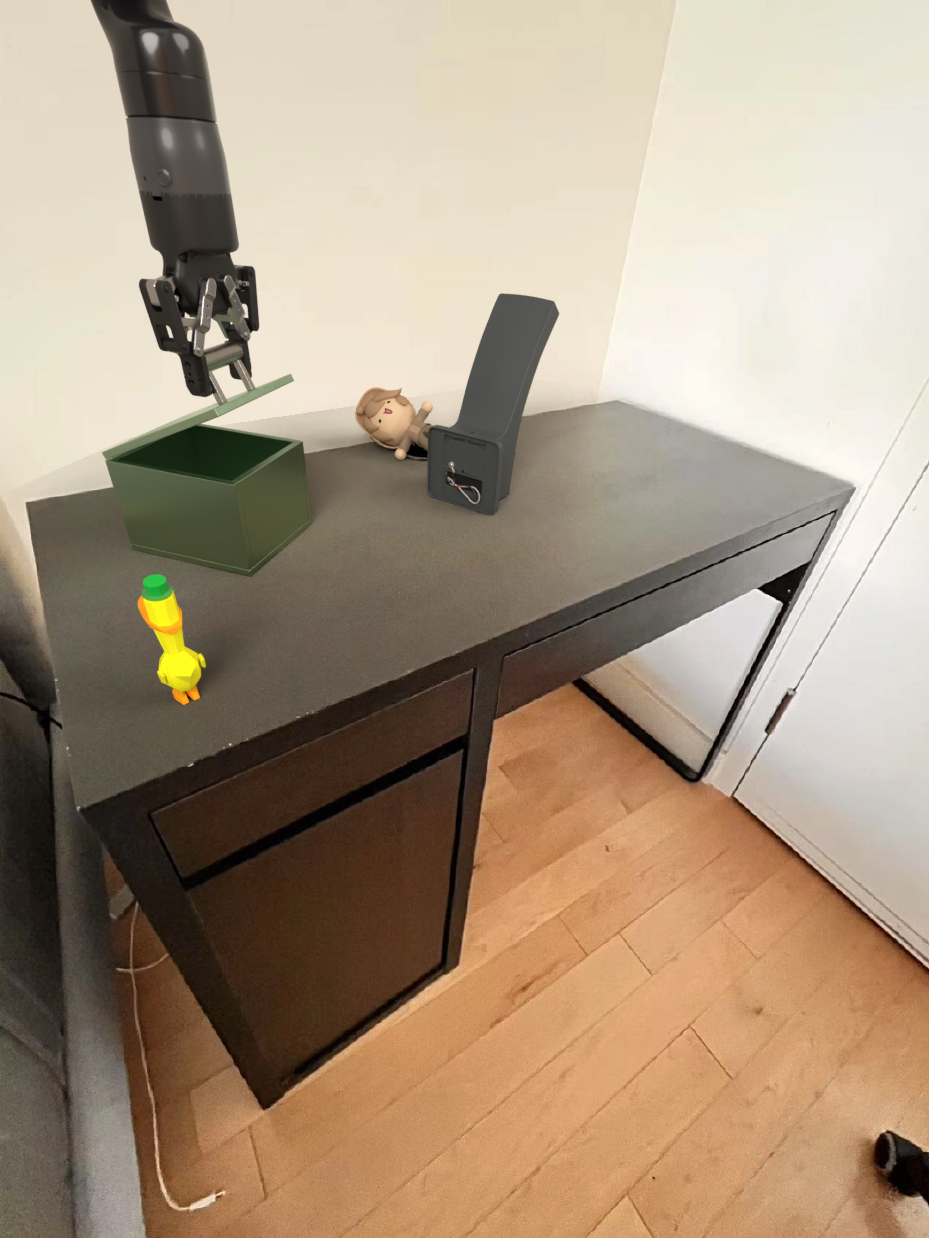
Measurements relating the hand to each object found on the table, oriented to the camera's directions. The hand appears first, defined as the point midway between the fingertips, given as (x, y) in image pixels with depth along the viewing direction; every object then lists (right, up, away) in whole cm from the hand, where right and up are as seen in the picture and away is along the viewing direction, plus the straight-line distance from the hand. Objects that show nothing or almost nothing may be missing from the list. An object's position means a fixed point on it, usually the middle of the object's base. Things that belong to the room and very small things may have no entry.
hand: (222, 386), depth 63 cm
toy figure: (+1, -30, -11) cm, 32 cm away
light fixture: (+28, -5, +27) cm, 39 cm away
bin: (-4, -14, +11) cm, 18 cm away
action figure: (+15, +3, +36) cm, 39 cm away
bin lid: (-3, -2, +3) cm, 5 cm away
